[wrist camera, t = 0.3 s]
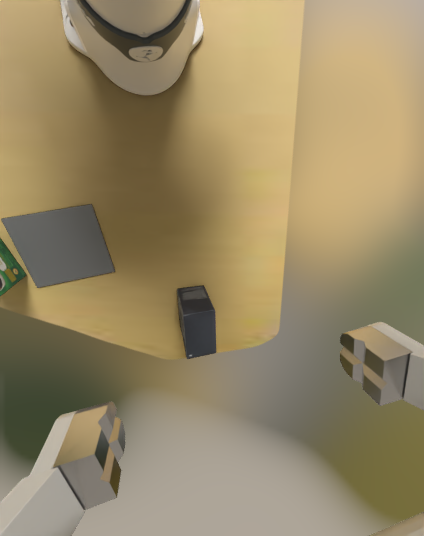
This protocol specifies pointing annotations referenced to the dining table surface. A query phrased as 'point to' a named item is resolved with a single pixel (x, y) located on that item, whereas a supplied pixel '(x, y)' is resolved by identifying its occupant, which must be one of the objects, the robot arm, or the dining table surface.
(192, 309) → the small box
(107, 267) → the mat
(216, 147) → the dining table surface
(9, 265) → the coffee box
